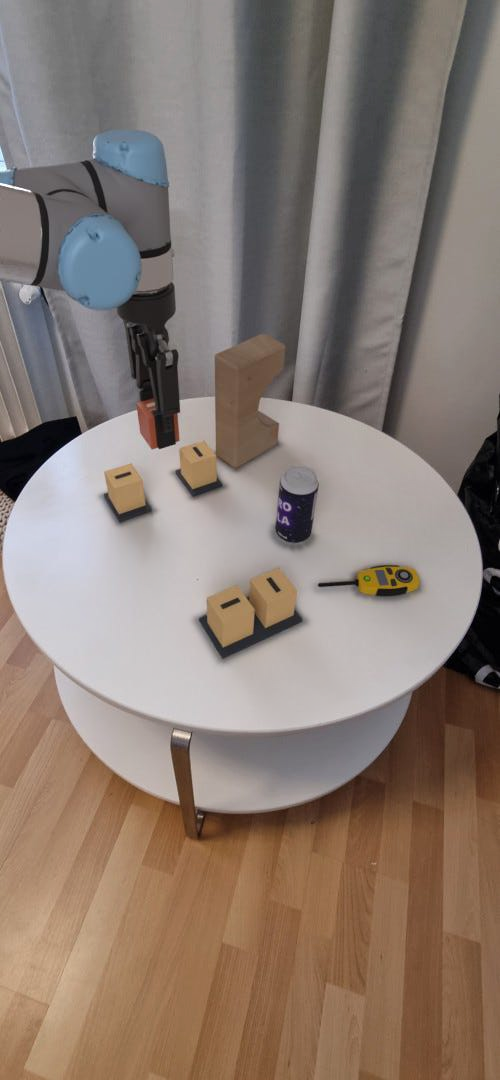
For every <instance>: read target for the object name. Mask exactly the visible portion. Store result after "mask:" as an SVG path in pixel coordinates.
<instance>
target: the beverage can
mask: <svg viewBox="0 0 500 1080" xmlns="http://www.w3.org/2000/svg"><path fill="white" fill-rule="evenodd" d="M319 487H320V483H319V480H318V474H317V473H316V471H315V470H314V469H313V468H311V467H309V466H307V465H302V464H296V465H291V466H289V467H287V468H286V469H285V470H284V471H283V473H282V475H281V477H280V479H279V486H278V498H277V506H276V507H277V509H276V520H275V533H276V535H277V537H279V538H280V539H281V540H283V541H284V542H286V543H288V544H289V543H290V544H299V543H302V542H306V540H308V539H309V538H310V537H311V535H312V533H313V532H312V530H313V525H314V518H315V512H316V506H317V499H318V492H319Z"/></svg>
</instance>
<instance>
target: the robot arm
mask: <svg viewBox="0 0 500 1080" xmlns="http://www.w3.org/2000/svg"><path fill="white" fill-rule="evenodd" d="M92 143H93V144H92V145H93V152H92V158H90V159H85V160H83V161H82V160H81V161H75V162H65V163H59V164H58V163H57V164H47V165H38V166H30V167H23V168H22V167H21V168H19V167H17V166H12V167H11V168H9V169H6V170H1V171H0V282H4V283H5V282H6V283H11V284H19V285H25V286H32V287H38V288H43V289H49V290H54V291H55V290H56V291H63V292H64V293H66V295H67V296H68V297H69V298H70V299H72V300H73V301H76V302H77V304H80V305H81V306H83V307H85V308H87V309H88V310H94V311H98V312H99V311H100V312H105V311H110V310H115V309H116V314H117V315H118V317H119V318H120V319H121V320H122V321H123V326H124V330H125V336H126V344H127V351H128V352H127V353H128V359H129V366H130V376H131V379H133V380H136V387H137V389H138V390H140V391H138V393H139V394H138V395H139V402H142V401H146V400H149V399H153V398H154V401H155V407H156V409H154V410H151V412H152V415H153V416H154V421H155V430H156V439H157V447H158V448H157V449H158V450H163V449H165V448H168V447H172V446H175V445H177V442H176V441H175V428H174V414H177V413H178V414H180V413H181V402H180V401H181V400H180V386H179V371H178V364H179V351H178V349H177V348H173V349H170V347H169V342H170V337H169V332H168V329H167V328H166V323H167V322H168V321H170V320H171V319H172V318H173V317H174V315H175V314H176V312H177V304H176V290H175V284H174V282H173V281H174V266H173V258H174V257H175V256H176V252H175V250H174V249H173V248H172V237H171V218H170V196H169V188H170V182H169V177H168V167H167V159H166V155H165V154H166V153H165V148H164V144H163V142H162V141H161V140H160V138H159V137H158V136H157V135H155V134H154V133H151V132H149V131H145V130H141V129H131V128H127V129H126V128H123V129H120V128H119V129H111V130H108V131H105V132H100V133H98V134H97V135H96V136H95V137H94V139H93V142H92Z"/></svg>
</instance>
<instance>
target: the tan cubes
mask: <svg viewBox="0 0 500 1080" xmlns="http://www.w3.org/2000/svg"><path fill="white" fill-rule="evenodd" d="M178 449H179V450H178V453H179V465H180V466H179V467H180V468H178V469H176V470H175V474H176V476H177V477H178V478H179V480H180V481H181V483H182V484H183V485H184V487H185V488H186V490H187V491H188V492H189V493H190V495H191V496H192V497H193V498H195V497H199V496H200V495H203V494H207V493H209V492H212V491H215V490H218V489H221V488H223V486H224V485H223V483H222V482H221V481H220V479H219V478H218V476H217V475H218V473H217V472H218V470H217V463H218V462H217V455H216V452H214V451H213V450H212V448H211V447H210V446H209V444H208V443H207V442H206V441H205V440H202V441H198V442H195V443H192V444H188V445H185V446H182V447H179V448H178ZM103 473H104V478H105V479H104V480H105V483H106V484H105V485H106V489H107V492H106V493H105V492H104V493H103V497H104V499H105V500H106V503H107V505H108V506H109V507H110V509H111V511H112V513H113V514H114V516H115V518H116V520H117V522H118V523H123V522H126V521H128V520H131V519H134V518H137V517H140V516H143V515H146V514H149V513H152V512H153V510H152V507H151V505H150V504H149V502H148V501H147V500H146V497H145V490H144V489H145V488H144V481H143V478H142V477H141V475H140V474H139V473H138V471H137V469H136V468H135V467H134V465H133V463H127V464H124V465H121V466H118V467H115V468H111V469H108V470H105V471H103Z"/></svg>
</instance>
